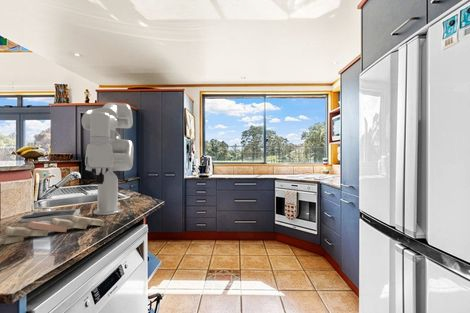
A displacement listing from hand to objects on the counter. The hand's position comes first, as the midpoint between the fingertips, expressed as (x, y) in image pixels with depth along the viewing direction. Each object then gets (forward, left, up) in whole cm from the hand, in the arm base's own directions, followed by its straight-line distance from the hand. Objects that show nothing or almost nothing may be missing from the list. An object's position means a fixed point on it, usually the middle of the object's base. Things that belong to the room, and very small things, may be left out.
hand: (99, 183), depth 107 cm
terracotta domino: (+10, -8, -17) cm, 21 cm away
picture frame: (-13, -30, -19) cm, 38 cm away
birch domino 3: (+5, -3, -17) cm, 18 cm away
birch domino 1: (+20, -16, -17) cm, 31 cm away
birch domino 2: (+15, -11, -17) cm, 25 cm away
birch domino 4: (0, +1, -17) cm, 17 cm away
